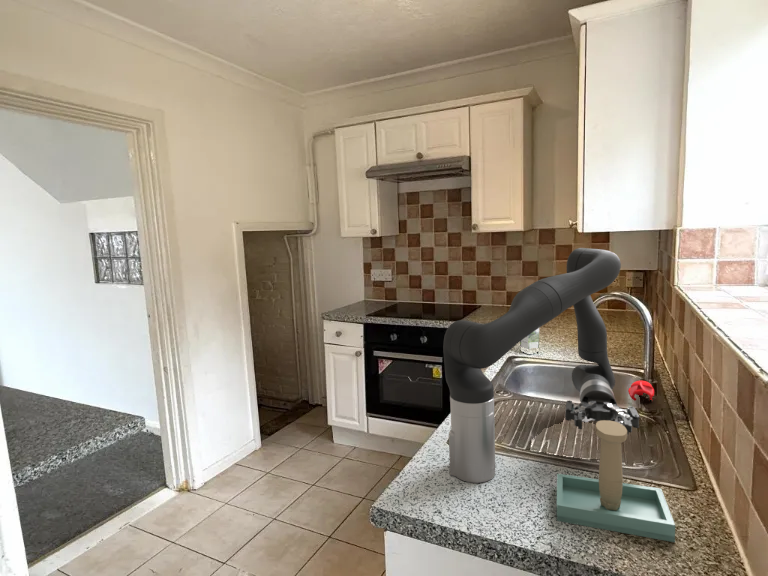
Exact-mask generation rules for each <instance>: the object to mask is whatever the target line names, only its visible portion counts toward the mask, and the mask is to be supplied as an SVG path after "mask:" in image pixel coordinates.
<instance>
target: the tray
mask: <svg viewBox="0 0 768 576" xmlns="http://www.w3.org/2000/svg"><path fill="white" fill-rule="evenodd" d="M600 498H601V496H600V491H599V478H590V477H583V476H579V475H577V476H576V475H571V474H562V473H557V474H556V521H557V522H562V523H568V524H572V525H578V526H584V527H588V528H589V527H590V528H595V529H600V530H606V531H611V532H616V533H622V534H628V535H633V536H638V537H645V538H650V539H655V540H660V541H665V542H670V543H675V542H676V522H675V521H674V520H675V519H674V518H673V516H672V512H671V510H670V508H669V505H668V503H667V500H666V498H665V495H664V492H663V490H662V488H659V487H654V486H653V487H652V486H645V485H640V484H633V483H626V482H625V483H624V482H623V487H622V496H621V505H620V507H619V508H618V510H616V511H615V510H607V509H606V508H605V507H604V506H602V505H601V502H600Z"/></svg>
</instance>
